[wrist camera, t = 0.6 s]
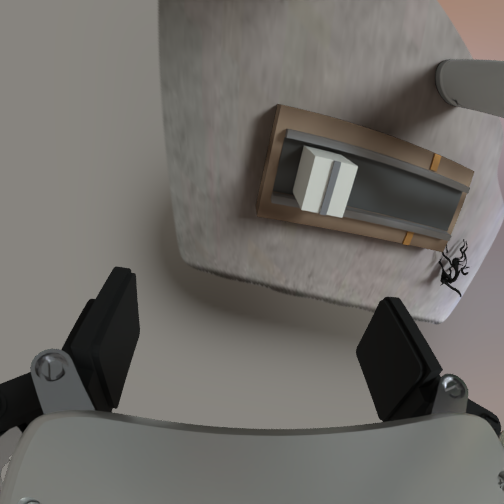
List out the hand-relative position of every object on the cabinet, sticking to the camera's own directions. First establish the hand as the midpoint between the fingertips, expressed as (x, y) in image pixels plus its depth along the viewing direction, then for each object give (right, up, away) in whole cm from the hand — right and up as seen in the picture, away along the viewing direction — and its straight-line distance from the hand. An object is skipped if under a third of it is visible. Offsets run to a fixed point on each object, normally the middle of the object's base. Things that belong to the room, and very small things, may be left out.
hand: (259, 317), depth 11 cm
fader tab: (+6, +10, +19) cm, 22 cm away
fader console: (+14, +11, +23) cm, 29 cm away
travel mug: (+25, +23, +16) cm, 38 cm away
